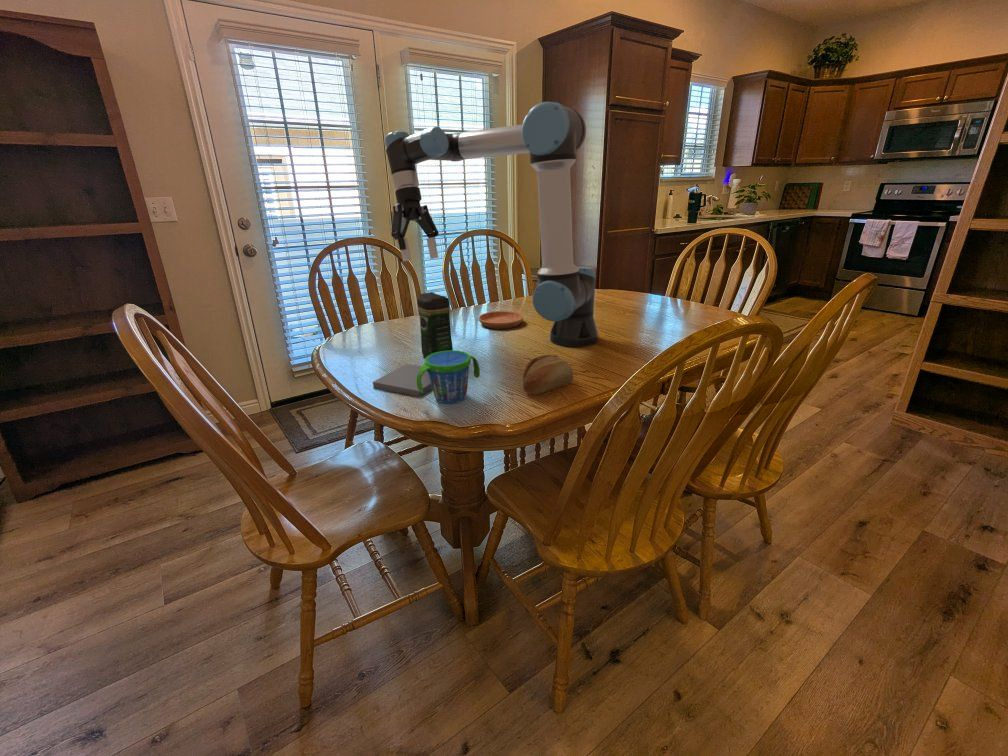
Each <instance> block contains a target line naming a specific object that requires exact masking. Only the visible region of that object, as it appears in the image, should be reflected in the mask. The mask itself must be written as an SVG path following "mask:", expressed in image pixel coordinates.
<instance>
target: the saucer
mask: <svg viewBox="0 0 1008 756" xmlns="http://www.w3.org/2000/svg"><path fill="white" fill-rule="evenodd" d="M478 321H479V323H480V324H482V325H483V326H484V327H486V328H488V329H492V330H493V329H494V330H495V329H496V330H505V329H506V330H507V329H512V328H515V327H517V326H519V325H520V324H521V323H522V322H523V321H524V315H523V314H521V313H519V312H515V311H508V310H499V311H498V310H496V311H489V312H484V313H482V314H480V315H479V316H478Z"/></svg>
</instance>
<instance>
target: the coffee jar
mask: <svg viewBox="0 0 1008 756" xmlns="http://www.w3.org/2000/svg"><path fill="white" fill-rule="evenodd" d="M450 306H451V304H450V298H449V297H447V296H444V295H441V294H438V293H434V292H433V291H432V292H424V293H420V295H419V296H418V297H417V310H418V315H419V316H418V317H419V323H420V325H419V328H420V338H421V339H420V342H421V354H422V356H424V357H425V358H426V357H427V356H429V355H430V354H433V353H436V352H440V351H448V350H454V349H453V340H452V330H451V318H450V317H451V316H450V315H451V314H450V312H451V307H450Z"/></svg>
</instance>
